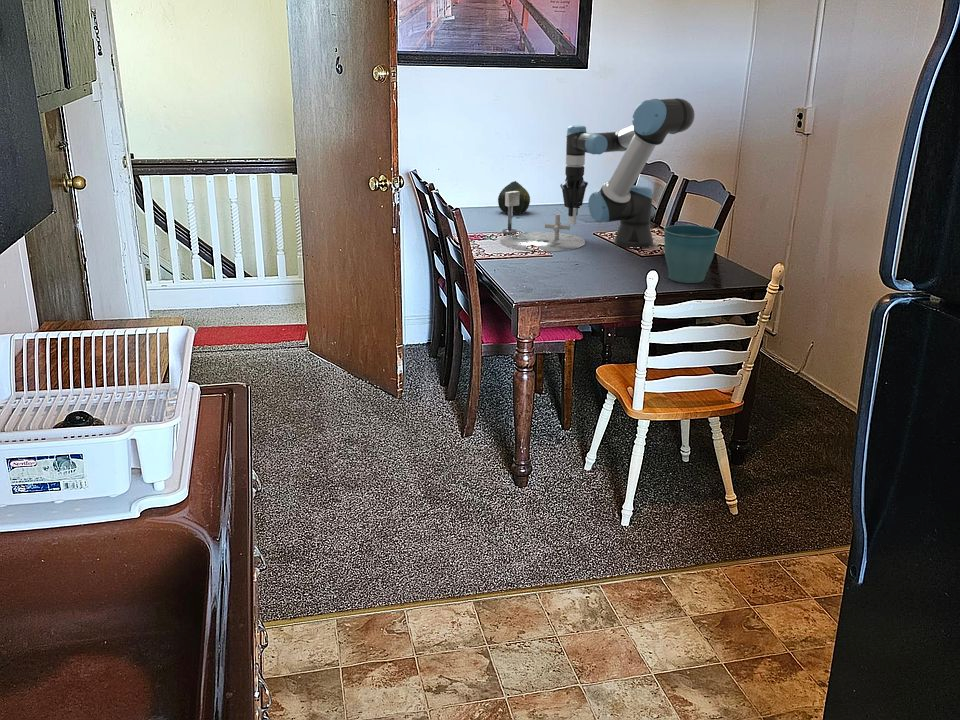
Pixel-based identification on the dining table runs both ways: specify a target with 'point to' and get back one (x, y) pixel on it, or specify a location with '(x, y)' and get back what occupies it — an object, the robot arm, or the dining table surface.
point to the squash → (523, 198)
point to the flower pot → (689, 251)
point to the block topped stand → (511, 208)
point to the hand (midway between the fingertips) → (572, 223)
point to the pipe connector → (557, 226)
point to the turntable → (543, 241)
